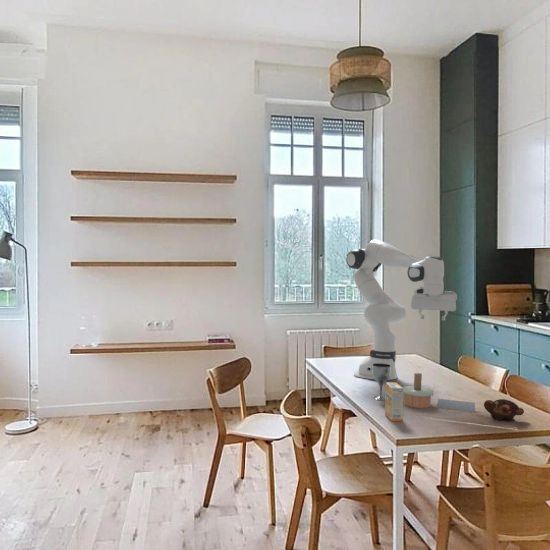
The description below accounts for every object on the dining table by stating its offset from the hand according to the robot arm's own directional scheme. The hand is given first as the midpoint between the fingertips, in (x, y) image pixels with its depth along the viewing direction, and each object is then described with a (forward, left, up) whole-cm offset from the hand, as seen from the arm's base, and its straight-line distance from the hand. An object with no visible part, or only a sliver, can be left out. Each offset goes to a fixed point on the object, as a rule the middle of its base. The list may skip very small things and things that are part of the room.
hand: (432, 319), depth 232 cm
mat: (+11, -21, -34) cm, 42 cm away
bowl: (-4, -26, -34) cm, 43 cm away
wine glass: (-20, -22, -34) cm, 45 cm away
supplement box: (-11, -48, -34) cm, 60 cm away
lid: (-4, -26, -29) cm, 39 cm away
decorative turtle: (+29, -32, -34) cm, 55 cm away
